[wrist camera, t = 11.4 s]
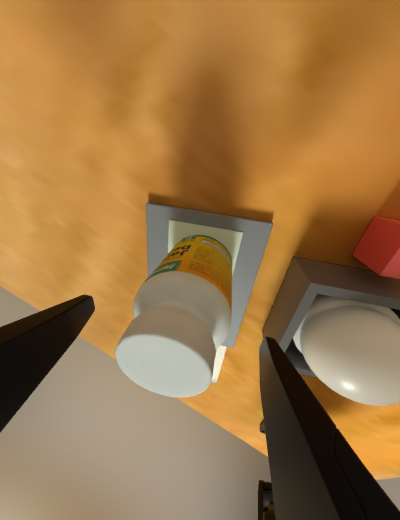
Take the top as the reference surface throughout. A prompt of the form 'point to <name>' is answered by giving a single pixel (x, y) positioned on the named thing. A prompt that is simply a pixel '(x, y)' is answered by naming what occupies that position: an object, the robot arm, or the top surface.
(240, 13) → the top surface
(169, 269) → the supplement bottle
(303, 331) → the dome
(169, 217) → the game board
